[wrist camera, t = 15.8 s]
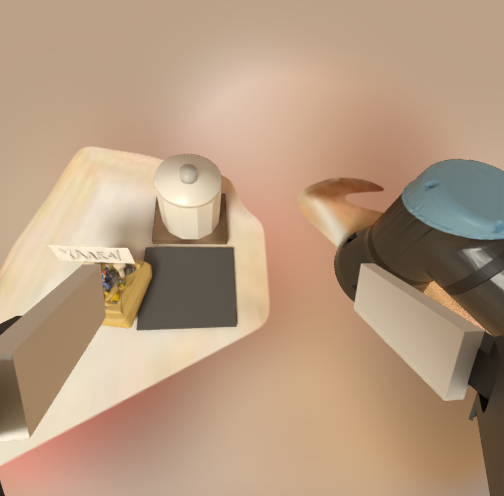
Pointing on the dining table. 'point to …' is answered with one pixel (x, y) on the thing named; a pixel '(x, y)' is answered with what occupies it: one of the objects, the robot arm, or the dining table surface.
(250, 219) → the dining table surface
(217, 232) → the board
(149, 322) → the mat
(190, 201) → the pot with lid
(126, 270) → the cake
